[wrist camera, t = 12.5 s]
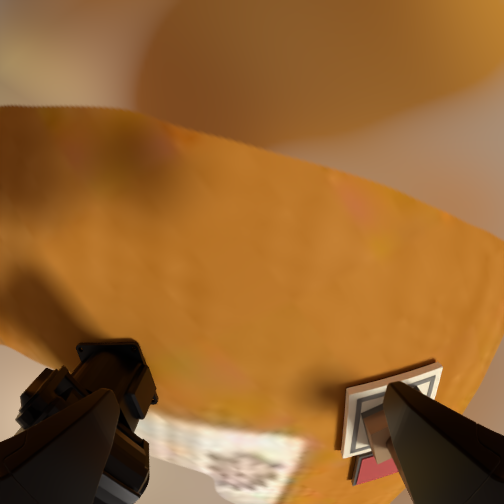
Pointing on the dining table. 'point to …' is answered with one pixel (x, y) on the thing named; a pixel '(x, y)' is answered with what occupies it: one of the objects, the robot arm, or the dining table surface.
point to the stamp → (381, 437)
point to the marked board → (373, 396)
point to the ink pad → (371, 468)
